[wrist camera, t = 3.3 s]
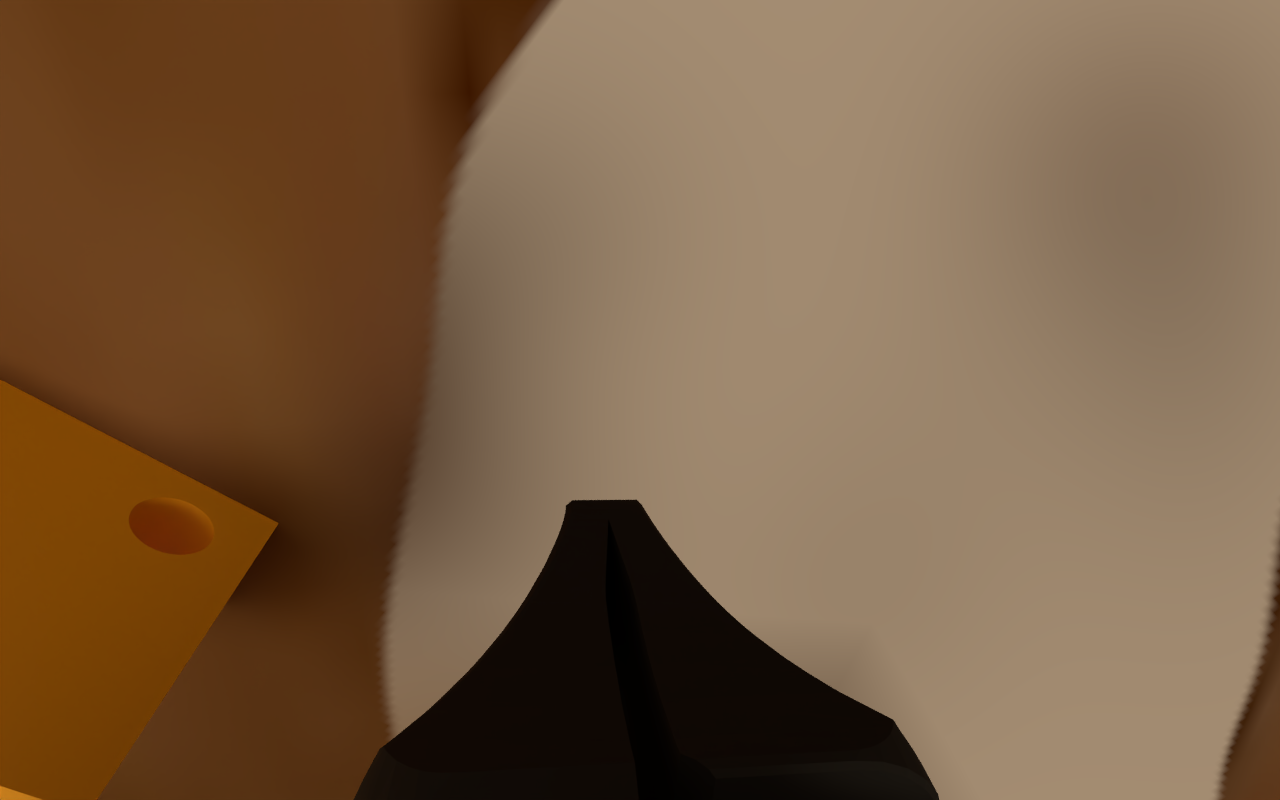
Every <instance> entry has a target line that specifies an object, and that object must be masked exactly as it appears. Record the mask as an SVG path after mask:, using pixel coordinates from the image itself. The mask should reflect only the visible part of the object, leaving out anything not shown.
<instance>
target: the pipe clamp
mask: <svg viewBox="0 0 1280 800" xmlns="http://www.w3.org/2000/svg"><path fill="white" fill-rule="evenodd" d="M278 524H279V523H277V522H275V521H274V520H272V519H270V518H268V517H266V516H264V515H262V514H260V513H258V512H256V511H254V510H252V509H250V508H248V507H246V506H244V505H243V504H241V503H239V502H237V501H235V500H233V499H231V498H229V497H227V496H225V495H223V494H221V493H219V492H217V491H215V490H213V489H212V488H210V487H208V486H206V485H204V484H202V483H200V482H198V481H196V480H194V479H192V478H190V477H188V476H186V475H184V474H182V473H180V472H179V471H177V470H175V469H173V468H171V467H169V466H167V465H165V464H163V463H161V462H159V461H157V460H155V459H153V458H151V457H149V456H148V455H146V454H144V453H142V452H140V451H138V450H136V449H134V448H132V447H130V446H128V445H126V444H124V443H122V442H120V441H118V440H117V439H115V438H113V437H111V436H109V435H107V434H105V433H103V432H101V431H99V430H97V429H95V428H93V427H91V426H89V425H87V424H86V423H84V422H82V421H80V420H78V419H76V418H74V417H72V416H70V415H68V414H66V413H64V412H62V411H60V410H58V409H56V408H54V407H53V406H51V405H49V404H47V403H45V402H43V401H41V400H39V399H37V398H35V397H33V396H31V395H29V394H27V393H25V392H23V391H22V390H20V389H18V388H16V387H14V386H12V385H10V384H8V383H6V382H4V381H2V380H0V800H97V799H98V797H99V796H100V794H101V793H102V791H103V790H104V788H105V787H106V785H107V784H108V782H109V781H110V779H111V778H112V776H113V775H114V773H115V772H116V770H117V769H118V767H119V766H120V764H121V762H122V761H123V759H124V758H125V756H126V755H127V753H128V752H129V750H130V749H131V747H132V746H133V744H134V743H135V741H136V740H137V738H138V737H139V735H140V734H141V732H142V731H143V729H144V727H145V726H146V724H147V723H148V721H149V720H150V718H151V717H152V715H153V714H154V712H155V711H156V709H157V708H158V706H159V705H160V703H161V702H162V700H163V699H164V697H165V696H166V694H167V693H168V691H169V689H170V688H171V686H172V685H173V683H174V682H175V680H176V679H177V677H178V676H179V674H180V673H181V671H182V670H183V668H184V667H185V665H186V664H187V662H188V661H189V659H190V658H191V656H192V654H193V653H194V651H195V650H196V648H197V647H198V645H199V644H200V642H201V641H202V639H203V638H204V636H205V635H206V633H207V632H208V630H209V629H210V627H211V626H212V624H213V623H214V621H215V620H216V618H217V616H218V615H219V613H220V612H221V610H222V609H223V607H224V606H225V604H226V603H227V601H228V600H229V598H230V597H231V595H232V594H233V592H234V591H235V589H236V588H237V586H238V585H239V583H240V582H241V580H242V578H243V577H244V575H245V574H246V572H247V571H248V569H249V568H250V566H251V565H252V563H253V562H254V560H255V559H256V557H257V556H258V554H259V553H260V551H261V550H262V548H263V547H264V545H265V543H266V542H267V540H268V539H269V537H270V536H271V534H272V533H273V531H274V530H275V528H276V527H277V525H278Z"/></svg>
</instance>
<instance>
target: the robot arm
mask: <svg viewBox="0 0 1280 800" xmlns="http://www.w3.org/2000/svg"><path fill="white" fill-rule="evenodd" d="M354 800H939V797H938V793H937V792H936V790H935V788H934V786H933V785H932V782H931V780H930V779H929V777H928V775H927V773H926V771H925V769H924V767H923V766H922V764H921V762H920V760H919V759H918V757H917V755H916V754H915V752H914V751H913V749H912V748H911V746H910V745H909V743H908V741H907V740H906V739H905V737H904V736H903V734H902V733H901V731H900V730H899V728H898V727H897V725H896V723H895V722H894V720H893V719H891V718H889V717H887V716H885V715H883V714H881V713H879V712H877V711H875V710H873V709H871V708H869V707H867V706H865V705H864V704H862V703H860V702H858V701H856V700H854V699H852V698H850V697H848V696H846V695H844V694H842V693H840V692H839V691H837V690H835V689H833V688H832V687H830V686H828V685H826V684H825V683H823V682H822V681H820V680H818V679H817V678H815V677H814V676H812V675H810V674H809V673H807V672H805V671H804V670H802V669H801V668H799V667H798V666H796V665H795V664H793V663H792V662H790V661H789V660H787V659H786V658H784V657H783V656H781V655H780V654H779V653H777V652H776V651H775V650H774V649H772V648H771V647H769V646H768V645H767V644H766V643H764V642H763V641H762V640H760V639H759V638H758V637H756V636H755V635H754V634H753V633H751V632H750V631H749V630H748V629H746V628H745V627H744V626H743V625H742V624H740V623H739V622H738V621H737V620H736V619H735V618H734V617H733V616H731V615H730V614H729V613H728V612H727V611H726V610H725V609H724V608H723V607H722V606H721V605H720V604H719V603H718V602H717V601H716V600H715V599H714V598H713V597H712V596H711V595H710V594H709V593H708V592H707V591H706V589H704V587H703V586H702V585H701V584H700V583H699V582H698V581H697V580H696V578H695V577H694V576H693V575H692V574H691V573H690V572H689V570H688V569H687V568H686V567H685V565H683V563H682V562H681V561H680V559H679V558H678V557H677V555H676V554H675V553H674V552H673V550H672V549H671V548H670V547H669V545H668V544H667V542H666V541H665V540H664V538H663V537H662V535H661V534H660V533H659V531H658V530H657V528H656V527H655V525H654V524H653V522H652V521H651V519H650V518H649V516H648V514H647V513H646V511H645V510H644V508H643V507H642V505H641V504H640V503H639V502H638V501H637V500H575V501H574V500H573V501H571V502H570V503H569V504H568V505H566V513H565V517H564V521H563V524H562V527H561V530H560V532H559V535H558V538H557V540H556V542H555V545H554V547H553V549H552V551H551V553H550V555H549V558H548V560H547V562H546V564H545V566H544V568H543V569H542V572H541V573H540V575H539V577H538V578H537V580H536V582H535V583H534V585H533V587H532V589H531V590H530V592H529V594H528V595H527V597H526V598H525V600H524V602H523V603H522V605H521V606H520V608H519V609H518V611H517V612H516V614H515V615H514V616H513V618H512V619H511V621H510V622H509V623H508V625H507V626H506V627H505V629H504V630H503V631H502V633H501V634H500V635H499V636H498V638H497V639H496V640H495V641H494V642H493V644H492V645H491V646H490V647H489V648H488V650H487V651H486V652H485V653H484V654H483V656H482V657H481V658H480V659H479V660H478V661H477V662H476V664H475V665H474V666H473V667H472V668H471V669H470V670H469V671H468V672H467V673H466V674H465V675H464V676H463V677H462V678H461V679H460V680H459V681H458V682H457V683H456V684H455V685H454V686H453V687H452V688H451V689H450V690H449V691H448V692H447V693H446V694H445V695H444V696H443V697H442V698H441V699H440V700H438V701H437V702H436V703H435V704H434V705H433V706H432V707H431V708H430V709H429V710H428V711H426V712H425V713H424V714H423V715H422V716H421V717H419V718H418V719H417V720H416V721H414V722H413V723H412V724H411V725H410V726H408V727H407V728H406V729H405V730H403V731H402V732H401V733H400V734H398V735H397V736H396V737H395V738H393V739H392V740H391V741H390V742H388V743H387V744H386V745H384V746H383V747H382V748H380V750H379V751H378V753H377V755H376V757H375V758H374V760H373V762H372V764H371V766H370V768H369V770H368V772H367V773H366V775H365V777H364V779H363V781H362V783H361V785H360V788H359V790H358V792H357V794H356V796H355V798H354Z"/></svg>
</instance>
